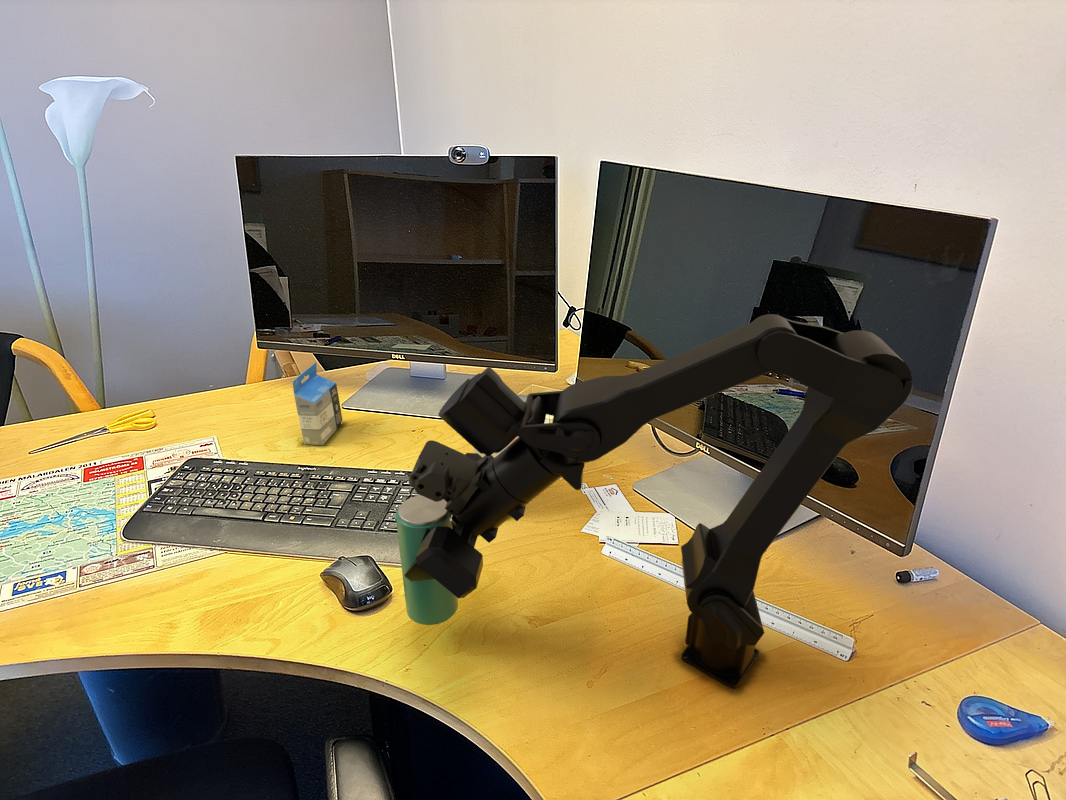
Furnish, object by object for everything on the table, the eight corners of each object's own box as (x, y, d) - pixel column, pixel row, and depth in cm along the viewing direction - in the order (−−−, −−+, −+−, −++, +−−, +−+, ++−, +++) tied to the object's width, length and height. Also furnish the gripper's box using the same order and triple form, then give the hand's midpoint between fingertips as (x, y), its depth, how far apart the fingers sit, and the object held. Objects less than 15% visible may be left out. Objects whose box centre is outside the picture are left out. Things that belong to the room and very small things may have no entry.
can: (468, 604, 77) (462, 506, 71) (430, 633, 73) (420, 531, 67) (434, 582, 80) (425, 487, 74) (395, 608, 76) (383, 510, 70)
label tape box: (323, 446, 118) (313, 382, 113) (301, 444, 119) (290, 380, 113) (343, 423, 126) (335, 362, 121) (323, 422, 126) (314, 361, 121)
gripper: (473, 387, 74) (386, 467, 80) (430, 476, 58) (325, 569, 63) (544, 452, 77) (455, 526, 83) (523, 556, 60) (413, 639, 66)
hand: (415, 559), depth 74 cm, fingers closed on can, 6 cm apart
